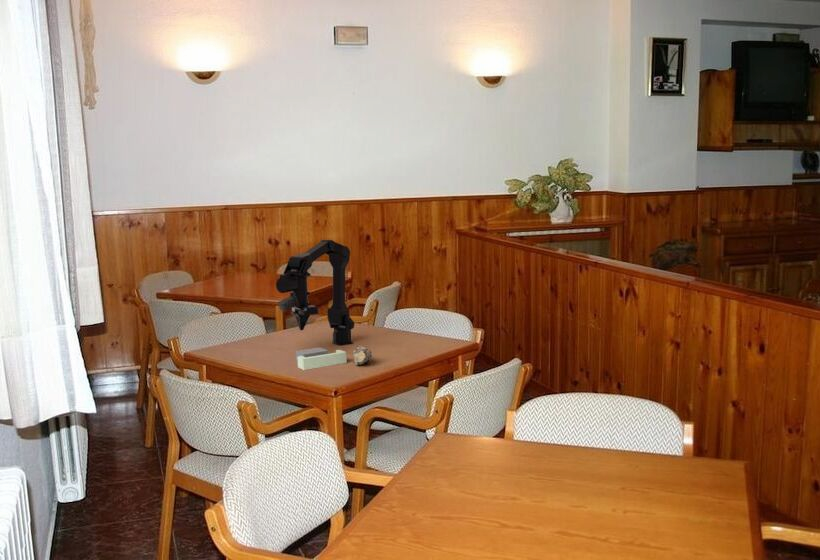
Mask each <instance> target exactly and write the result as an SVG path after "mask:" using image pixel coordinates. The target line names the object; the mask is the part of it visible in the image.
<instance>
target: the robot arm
mask: <svg viewBox="0 0 820 560" xmlns="http://www.w3.org/2000/svg"><path fill="white" fill-rule="evenodd" d="M324 255H327V256H328V261H329V263H330V264H329V265H331V267H332V304H331V306H330V307H328V308H327V318H326V319H328V320H327V321H328V323H329V328H330V329H333V331H332V342H331V344H332V343H333V344H335V345H338V346H344V345H349V344H353V343H354V341H352V330H353V329H354V328H355V323H356V322H355V321H354V320H353V319H352V318H351V316H350V310H349V308H348V306H347V304H346V269H347V268H346V267H347V266H348V264H349V263H350V258H351V257H350V256H351V249H349V246H347V245H343V244H341V243H338V242H336V241H334V240H332V239H322V240H320V241H319V242H318V243H316V244H315V245H314V246H312V247H311V248H309V249H307V250H306V251H304V252H303V253H301V252H300V253H297V254H294V255H291V256H290V257H289V258H288V261H287V264H286V267H285V269H284V272H283V274H282V273H281V274H280V275H279V278H278V279H276V282H275V288H276V290H277V291H278V292H279V293H280V294H285V293H289V296H287V297H285V298H284V299H281V300H279V301H278V302H277V305H278V307H279V309H280V311H282V312H287V311H290V309H291V311H290V312H289V313H290V314H292V315H293V316H294V317H295V319H296V323H297V326H298V329H299V331H304V329H305V327H306V324H307V322H308V320H309V318H310V316H311V315H318V314H319V312H320V311H319V307H318V306H316V305H314V304H312V305H311V302H309V295H311V292H310V291H309V288H308V277H311V276H312V275H311V273H310V272H309V271H308V270H309V269H311V267H312V266H313V263H314V262H316V260H319V258H320V257H322V256H324Z"/></svg>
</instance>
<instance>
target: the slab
mask: <svg viewBox="0 0 820 560" xmlns="http://www.w3.org/2000/svg"><path fill="white" fill-rule="evenodd" d="M323 354H329V350H327V349H325V348H323V347H313V348H307V349H301V350H295V361H296V362H298V359H297V356H303V357H305V358H306V357H311V356H317V355H323Z"/></svg>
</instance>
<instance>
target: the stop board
mask: <svg viewBox="0 0 820 560" xmlns="http://www.w3.org/2000/svg"><path fill="white" fill-rule="evenodd" d="M297 359H298V361H297V368H299V369H301V370H302V371H306V370H312V369H317V368H318V369H319V368H325V367H330V366H337V365H341V364H347V362H348V361H347V360H348V359H347V351H344V350H342V349H337V350H335V352H332V353H328V354H325V355H318V356H312V357H306V358H305V357H303V356H297Z"/></svg>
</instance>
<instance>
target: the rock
mask: <svg viewBox="0 0 820 560" xmlns="http://www.w3.org/2000/svg"><path fill="white" fill-rule="evenodd" d="M352 356H353V360H354V365H355V366H356V367H357V366H361V365H364V364H370V363H371V362H372V360H371V358H372V357H373V355H372V350H371V349H370V348H368V347H367V346H364V345H362V344H361V345H358V346H357V347H356V348H355V349H354V350H353V353H352Z"/></svg>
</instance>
